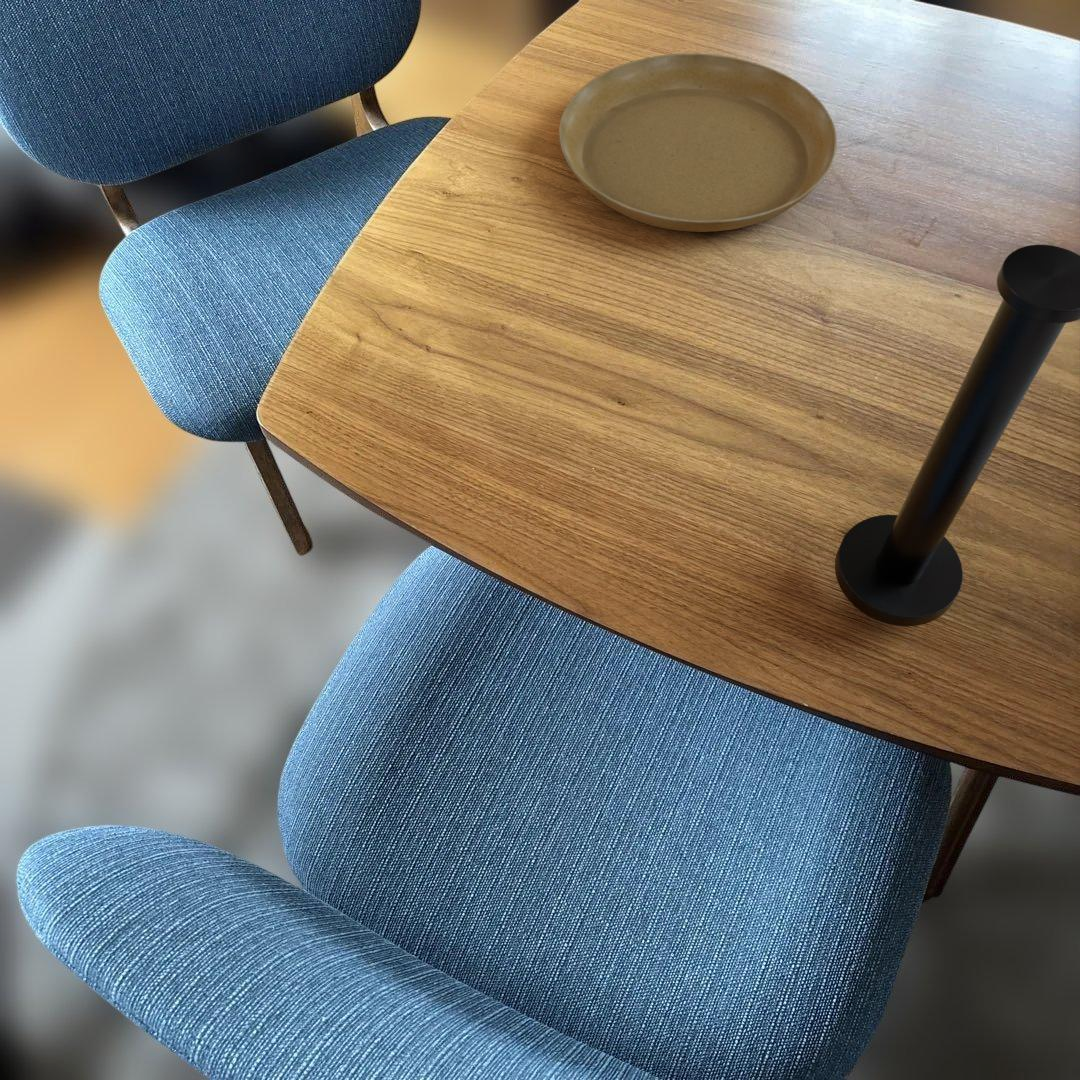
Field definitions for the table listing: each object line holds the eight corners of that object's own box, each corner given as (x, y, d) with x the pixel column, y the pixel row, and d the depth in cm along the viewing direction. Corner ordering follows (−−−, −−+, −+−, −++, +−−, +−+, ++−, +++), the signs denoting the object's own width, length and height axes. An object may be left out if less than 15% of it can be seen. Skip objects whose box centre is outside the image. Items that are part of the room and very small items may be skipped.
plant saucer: (520, 117, 97) (519, 84, 94) (750, 60, 101) (755, 28, 98) (623, 283, 84) (625, 251, 81) (880, 210, 89) (890, 178, 86)
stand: (981, 601, 67) (1184, 309, 46) (877, 643, 66) (1035, 362, 44) (912, 509, 72) (1067, 201, 50) (812, 547, 70) (927, 245, 48)
